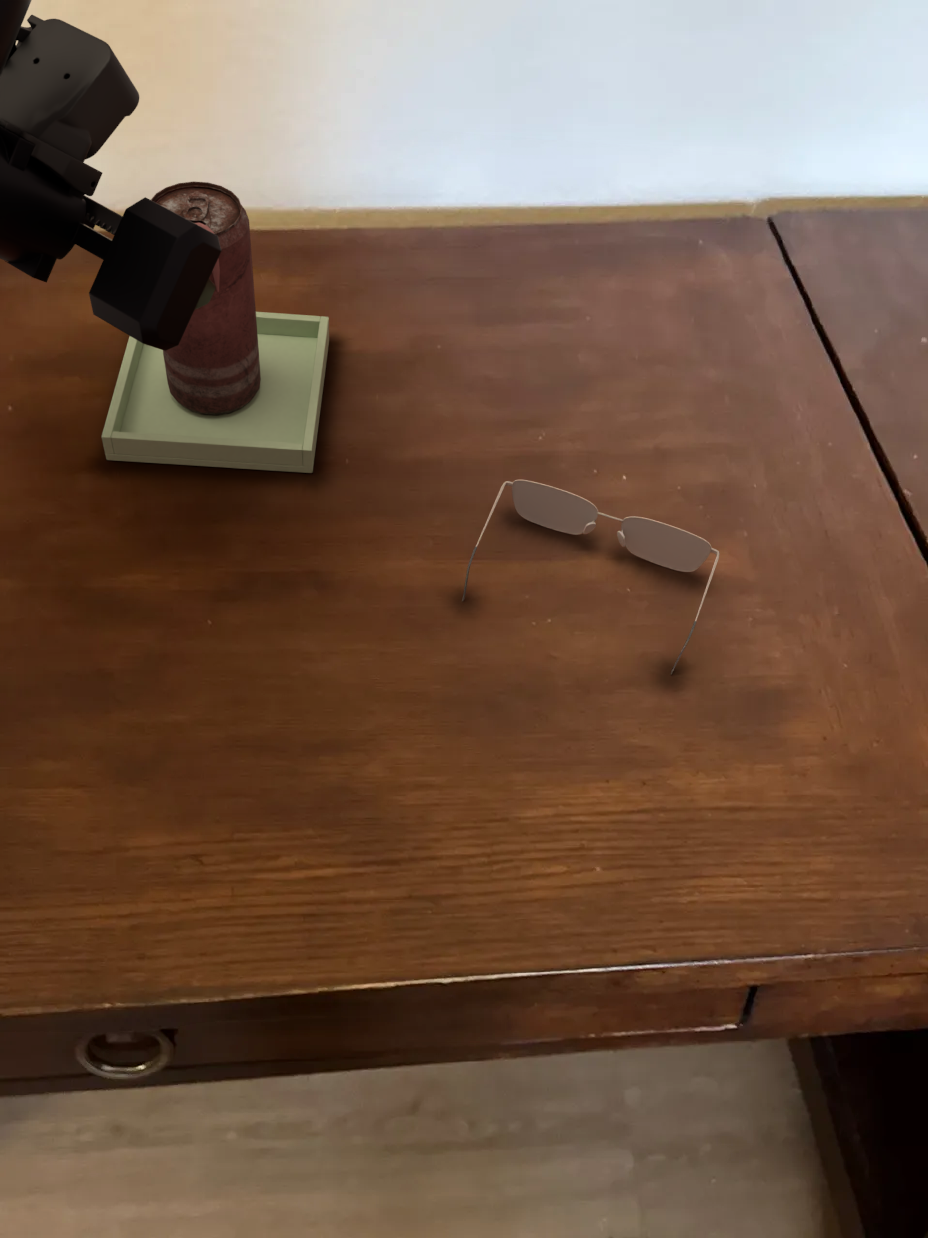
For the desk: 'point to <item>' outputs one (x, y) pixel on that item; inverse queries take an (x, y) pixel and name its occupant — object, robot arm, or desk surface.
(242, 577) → the desk surface
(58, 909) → the desk surface
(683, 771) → the desk surface
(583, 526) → the eyeglasses
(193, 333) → the can
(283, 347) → the tray
